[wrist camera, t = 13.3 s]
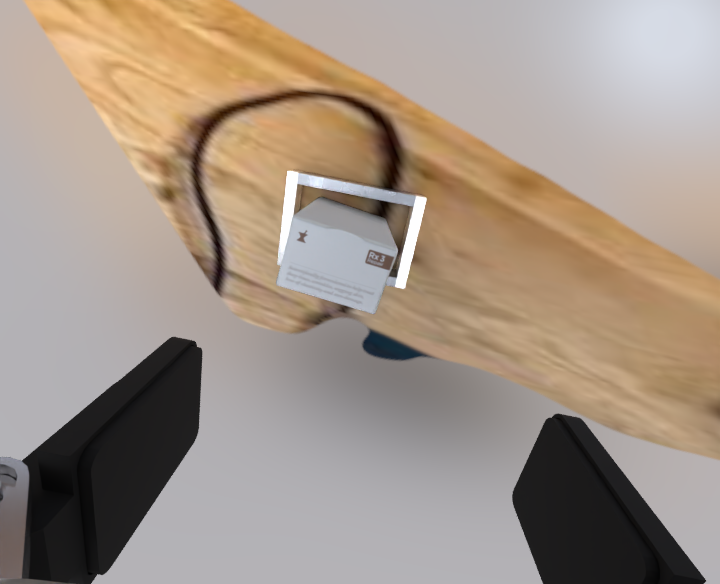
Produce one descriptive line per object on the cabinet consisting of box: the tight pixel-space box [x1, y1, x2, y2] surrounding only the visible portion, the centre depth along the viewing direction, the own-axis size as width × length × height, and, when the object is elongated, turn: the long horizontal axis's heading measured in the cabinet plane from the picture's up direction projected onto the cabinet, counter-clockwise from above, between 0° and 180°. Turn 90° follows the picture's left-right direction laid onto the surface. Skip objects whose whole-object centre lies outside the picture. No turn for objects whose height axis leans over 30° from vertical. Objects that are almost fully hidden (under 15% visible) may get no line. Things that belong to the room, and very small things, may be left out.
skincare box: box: [276, 197, 398, 314], centre depth 25 cm, size 6×4×12 cm
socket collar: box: [277, 170, 427, 289], centre depth 30 cm, size 11×7×2 cm
